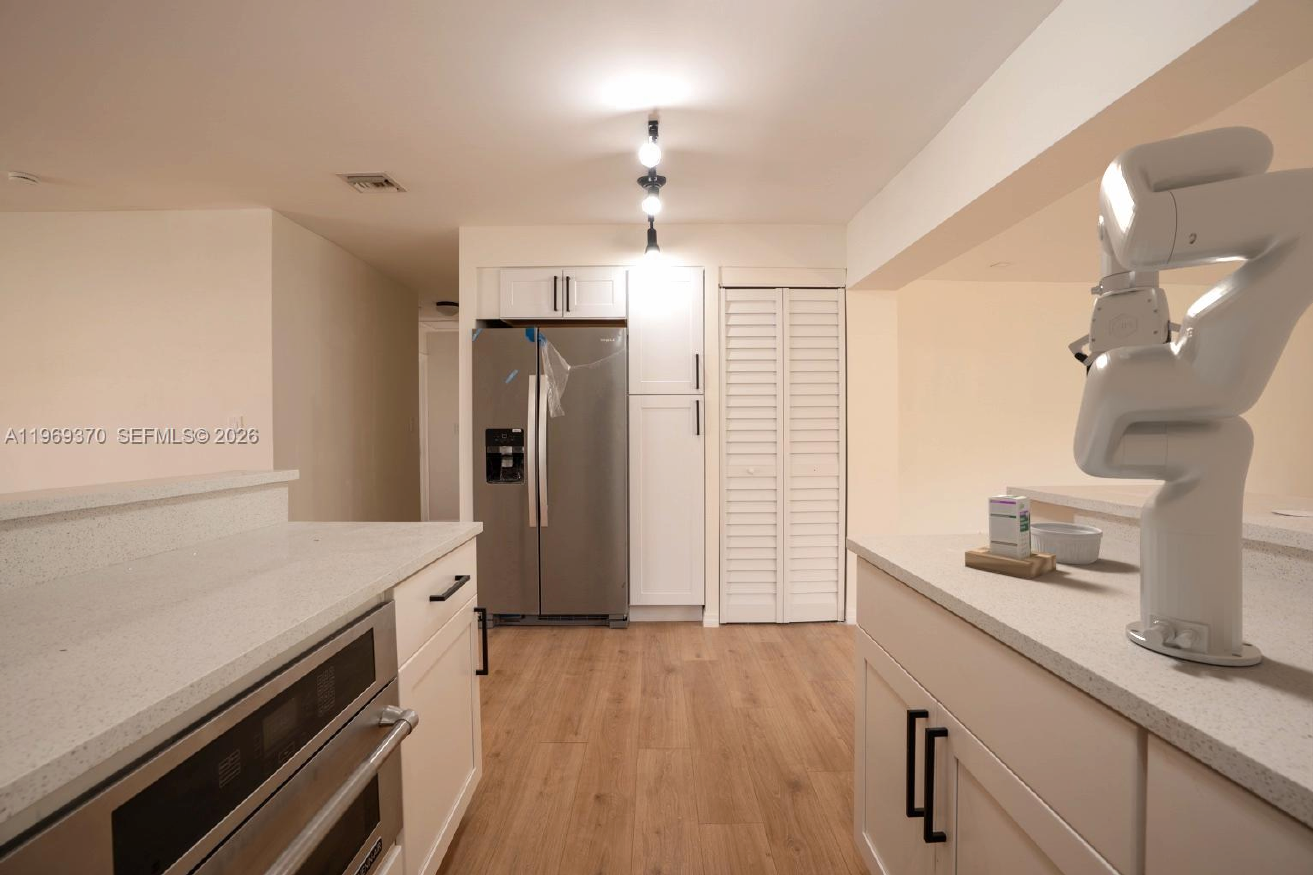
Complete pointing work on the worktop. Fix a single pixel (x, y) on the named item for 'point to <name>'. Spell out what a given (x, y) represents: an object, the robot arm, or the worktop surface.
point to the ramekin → (1067, 541)
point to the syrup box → (1010, 526)
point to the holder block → (1011, 563)
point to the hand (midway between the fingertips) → (1129, 385)
